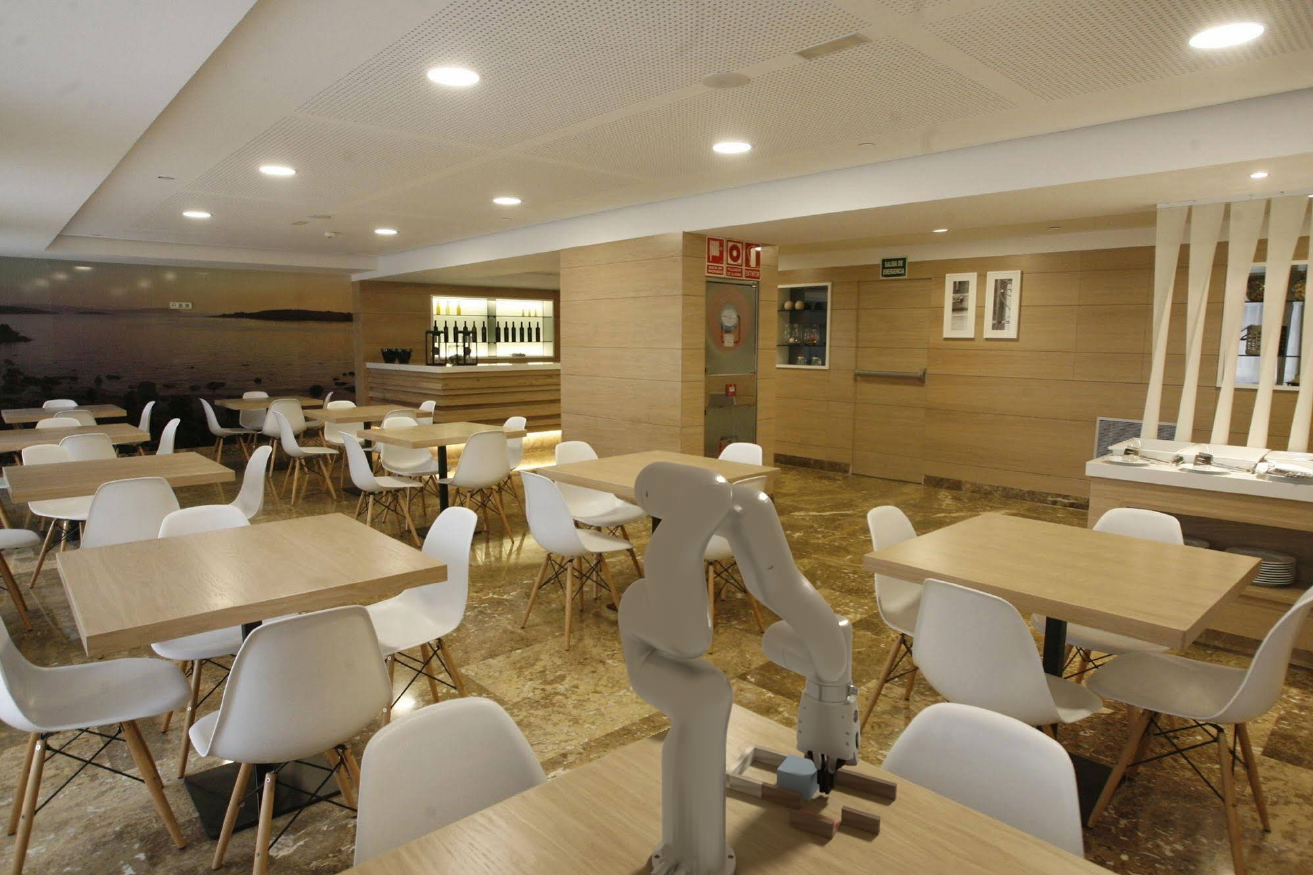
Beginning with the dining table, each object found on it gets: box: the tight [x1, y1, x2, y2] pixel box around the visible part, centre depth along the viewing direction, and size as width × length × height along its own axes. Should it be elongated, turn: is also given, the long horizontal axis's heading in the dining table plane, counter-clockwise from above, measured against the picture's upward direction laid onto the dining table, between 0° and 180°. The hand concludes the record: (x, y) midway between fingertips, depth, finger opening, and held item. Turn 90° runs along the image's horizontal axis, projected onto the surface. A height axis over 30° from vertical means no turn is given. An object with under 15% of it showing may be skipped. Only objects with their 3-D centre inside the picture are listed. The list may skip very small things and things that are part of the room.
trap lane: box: [726, 743, 898, 840], centre depth 132 cm, size 22×27×2 cm
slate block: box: [776, 753, 819, 802], centre depth 134 cm, size 6×6×4 cm
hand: (826, 789), depth 131 cm, fingers closed
